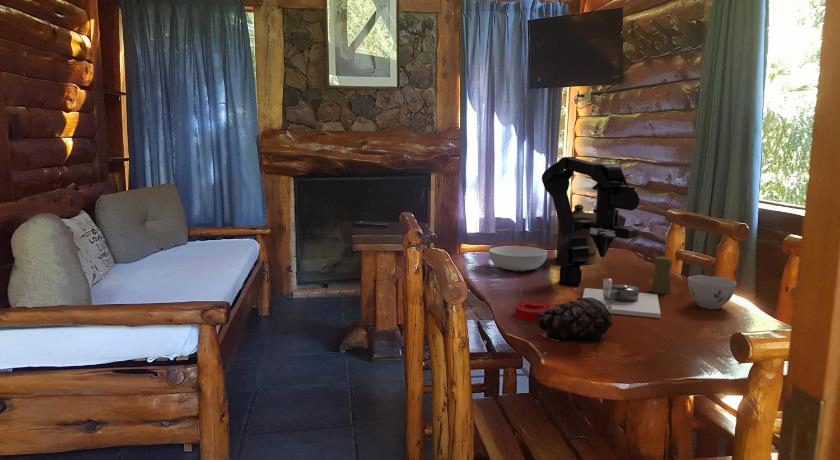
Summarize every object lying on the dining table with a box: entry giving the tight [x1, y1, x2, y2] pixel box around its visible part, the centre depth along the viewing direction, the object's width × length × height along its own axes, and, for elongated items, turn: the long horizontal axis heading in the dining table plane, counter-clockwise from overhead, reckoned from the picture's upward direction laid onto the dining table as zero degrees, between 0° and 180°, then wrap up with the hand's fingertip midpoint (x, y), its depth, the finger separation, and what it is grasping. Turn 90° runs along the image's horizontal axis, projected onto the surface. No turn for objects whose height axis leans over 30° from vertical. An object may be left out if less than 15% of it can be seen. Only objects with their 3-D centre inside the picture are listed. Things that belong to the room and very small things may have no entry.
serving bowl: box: [488, 245, 548, 272], centre depth 220 cm, size 21×21×7 cm
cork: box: [650, 256, 673, 295], centre depth 189 cm, size 6×6×11 cm
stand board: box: [581, 287, 661, 319], centre depth 175 cm, size 21×21×2 cm
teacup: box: [687, 274, 737, 310], centre depth 174 cm, size 15×12×8 cm
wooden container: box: [556, 203, 597, 266], centre depth 233 cm, size 15×15×22 cm
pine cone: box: [535, 297, 613, 343], centre depth 145 cm, size 10×18×10 cm, turn 97°
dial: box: [602, 277, 640, 302], centre depth 174 cm, size 14×8×7 cm, turn 131°
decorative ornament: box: [514, 300, 553, 322], centre depth 163 cm, size 10×10×3 cm
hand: (602, 256), depth 184 cm, fingers closed
